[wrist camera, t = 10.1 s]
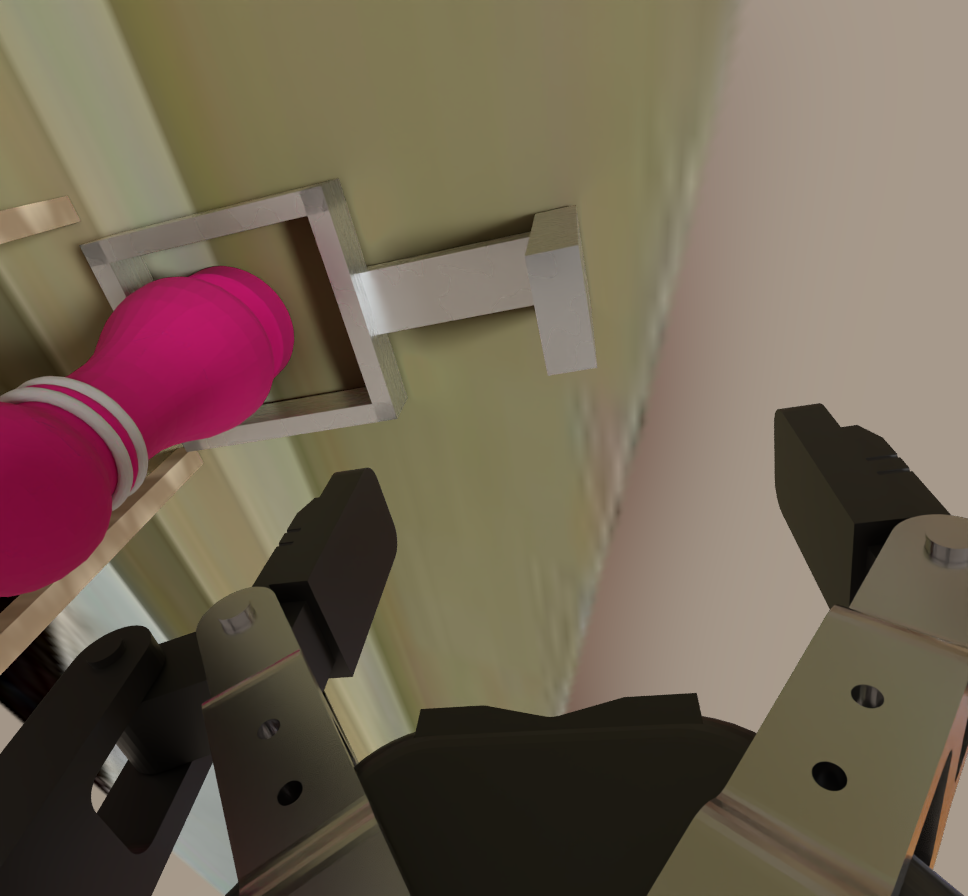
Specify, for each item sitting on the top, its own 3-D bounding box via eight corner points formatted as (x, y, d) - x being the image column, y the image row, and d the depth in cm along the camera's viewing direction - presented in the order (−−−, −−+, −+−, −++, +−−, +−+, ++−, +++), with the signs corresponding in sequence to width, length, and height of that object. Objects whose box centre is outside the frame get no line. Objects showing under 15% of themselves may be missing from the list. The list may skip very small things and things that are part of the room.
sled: (112, 234, 31) (-20, 278, 24) (563, 122, 26) (561, 136, 19) (208, 431, 36) (123, 513, 29) (600, 366, 31) (609, 445, 24)
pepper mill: (328, 310, 32) (44, 578, 15) (271, 413, 35) (-13, 729, 18) (196, 225, 30) (-289, 409, 13) (151, 340, 34) (-283, 607, 17)
